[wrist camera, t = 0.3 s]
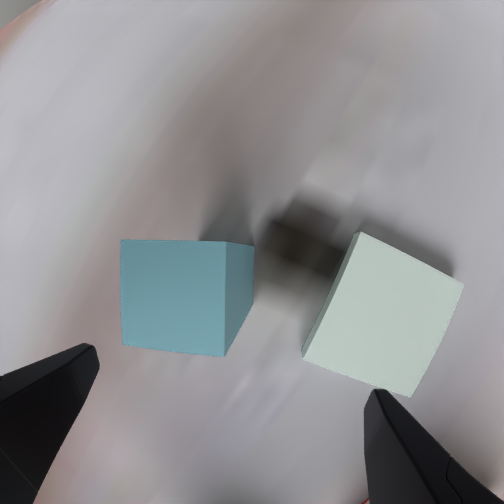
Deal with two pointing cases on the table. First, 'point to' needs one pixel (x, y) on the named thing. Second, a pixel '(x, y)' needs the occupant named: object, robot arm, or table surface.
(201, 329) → the teal pillar
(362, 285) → the base tile
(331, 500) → the table surface
